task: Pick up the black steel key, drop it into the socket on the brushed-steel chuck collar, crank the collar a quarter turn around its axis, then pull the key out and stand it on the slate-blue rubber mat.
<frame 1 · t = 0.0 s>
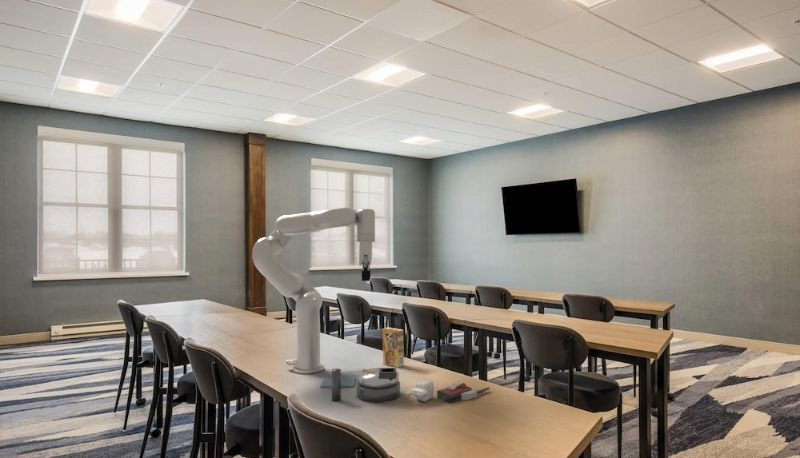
hand: (366, 279, 194), 37 cm above the table, tool pointing down, fingers open, 9 cm apart
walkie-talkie: (462, 397, 160), on the table
key mat: (338, 383, 174), on the table
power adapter: (420, 402, 154), on the table
chuck key: (336, 399, 156), on the table
candy box: (393, 365, 199), on the table
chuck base: (378, 395, 161), on the table
chuck collar: (378, 375, 161), point 7 cm above the table, hinge at 0.0°
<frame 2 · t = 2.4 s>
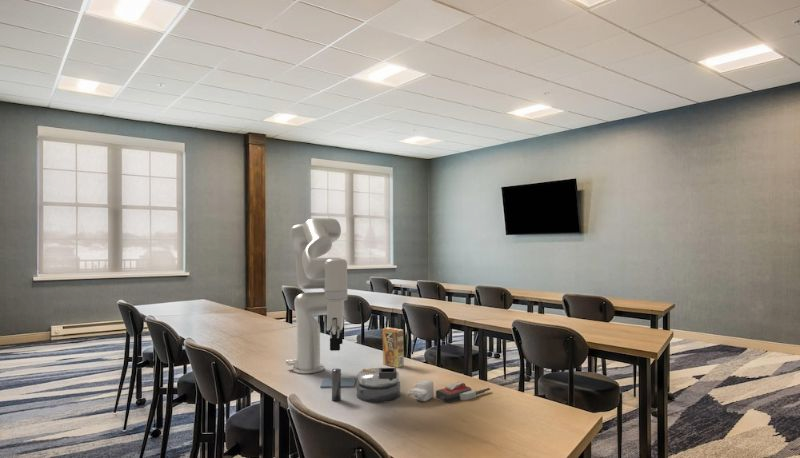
hand: (336, 347, 156), 18 cm above the table, tool pointing down, fingers open, 9 cm apart
nothing on the table moved.
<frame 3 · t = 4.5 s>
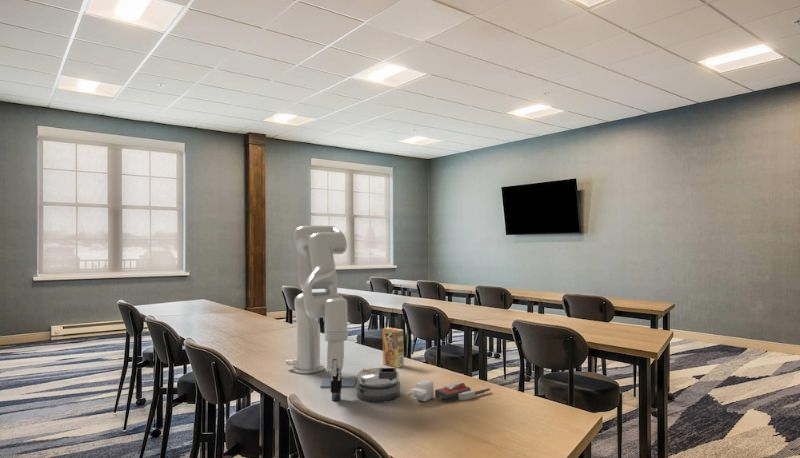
hand: (336, 390, 156), 3 cm above the table, tool pointing down, fingers closed on chuck key, 3 cm apart
chuck key: (336, 399, 156), on the table, touching gripper
everything else where it was.
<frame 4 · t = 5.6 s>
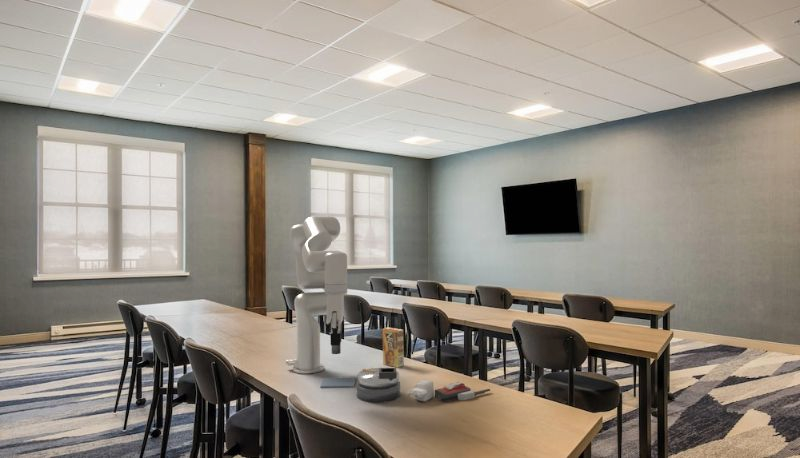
hand: (336, 343, 157), 19 cm above the table, tool pointing down, fingers closed on chuck key, 3 cm apart
chuck key: (336, 353, 157), point 15 cm above the table, touching gripper
everything else where it was.
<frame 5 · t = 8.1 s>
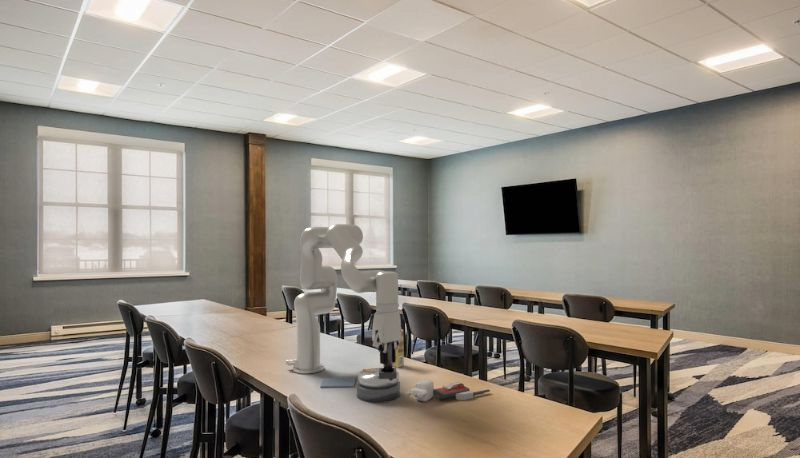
hand: (387, 362, 158), 12 cm above the table, tool pointing down, fingers closed on chuck key, 3 cm apart
chuck key: (388, 371, 158), point 9 cm above the table, touching gripper
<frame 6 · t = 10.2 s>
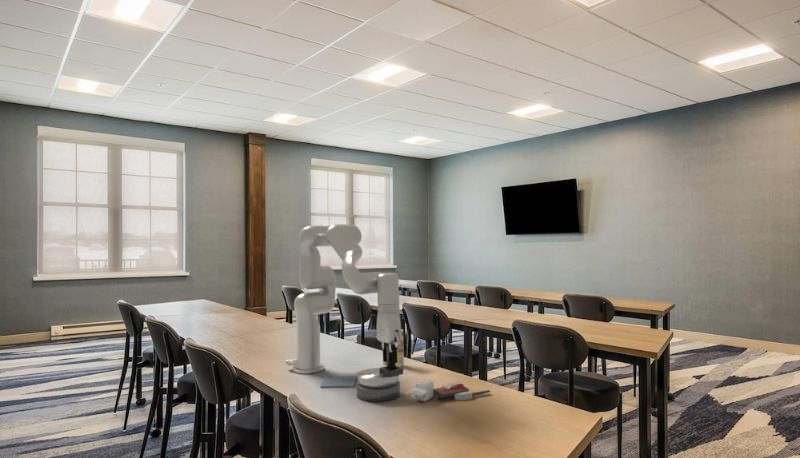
hand: (390, 361, 162), 11 cm above the table, tool pointing down, fingers closed on chuck key, 3 cm apart
chuck key: (391, 372, 161), point 8 cm above the table, tilted 5°, touching chuck collar, gripper
chuck collar: (378, 375, 161), point 7 cm above the table, hinge at 38.9°, touching chuck key
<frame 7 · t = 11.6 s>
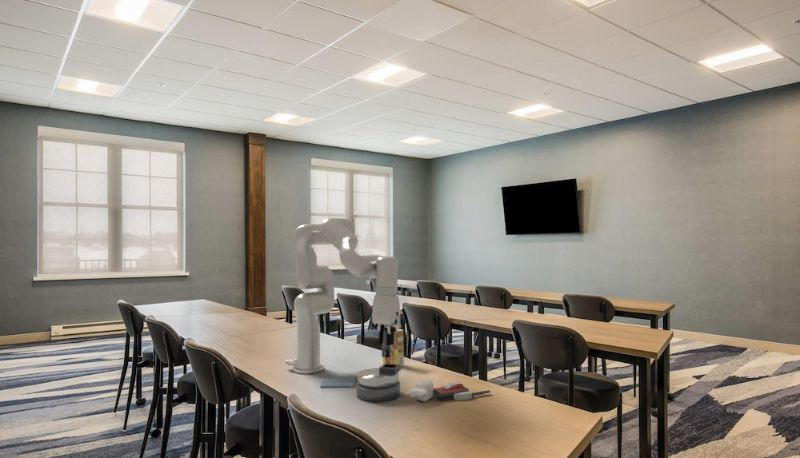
hand: (386, 343, 165), 17 cm above the table, tool pointing down, fingers closed on chuck key, 3 cm apart
chuck key: (386, 356, 164), point 12 cm above the table, touching gripper
chuck collar: (378, 375, 161), point 7 cm above the table, hinge at 69.5°
when the fingers open (5 cm above the table, at t = 17.0 s): chuck key stays where it is, resting on key mat.
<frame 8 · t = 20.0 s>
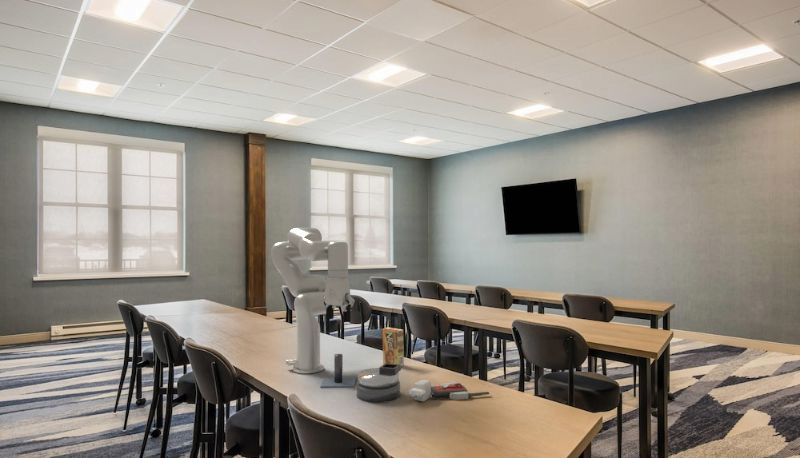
hand: (338, 320, 174), 23 cm above the table, tool pointing down, fingers open, 9 cm apart
chuck key: (338, 381, 174), point 1 cm above the table, touching key mat
at the end: chuck collar at +70° (first picture: +0°); chuck key inside the target area on the key mat (0.2 cm from its centre), point 0.6 cm above the key mat's base; chuck key tilted 0° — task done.
